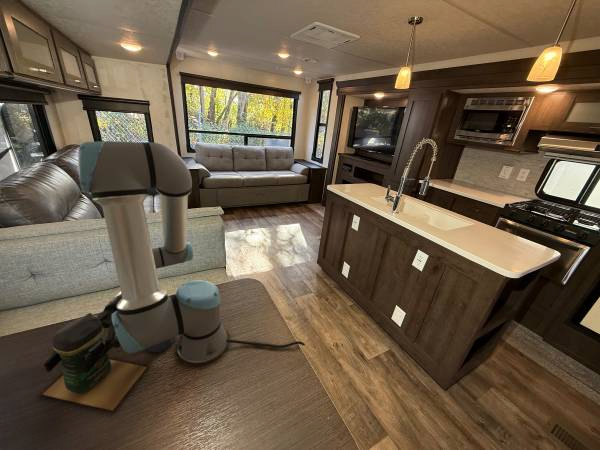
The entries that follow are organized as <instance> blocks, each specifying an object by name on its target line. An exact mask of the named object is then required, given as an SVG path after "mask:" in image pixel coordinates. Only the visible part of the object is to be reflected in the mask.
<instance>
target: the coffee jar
mask: <svg viewBox="0 0 600 450" xmlns="http://www.w3.org/2000/svg"><path fill="white" fill-rule="evenodd" d="M103 334H104V328H103V326H102V324H101V321H100V320H99V319H98V318H96V317H94V316H90V315H87V314H85V315H84V316H81V317H79V318H76V319H75V320H74V321H71V322H70V323H68V324H67V325H65V326H64V327H62V328H61V329H58V330H57V331H56V332H55V333H54V334H53V335H52V337H51V341H52V348H53V351H56V352H57V353H58V354H59V355H60V357H61V361H60V362H61V367H62V376H63V375H64V383H65V387H66V388H67V389H68V390H69V391H72V392H75V393H82V392H85V391H88V390H89V389H91V388H92V387H93V386H95V385H96V384H97V383H98V382H99V381H100V380H102V379H103V378H104V377H105V376H106V375H107V373H108V372H109V371H110V370H111V367H112V365H111V361H110V360H111V359H110V356H109V354H108V352H107V353H106V355H105V356H104V357H103V358H102V359H99V360H98V361H97V362H96V363H95V365H94V366H93V367H92V368H91V370H90V371H89V372H88V373H85V372H84V370H83V367H82V365H83V363H84V362H85V361H86V360H87V359H88V358H89V356H90V355H91V354H92V353H93V352H94V351H95V349H96V348H97V347H98V346H99V345H100V344H101V343H104V339H103Z"/></svg>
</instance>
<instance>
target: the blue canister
mask: <svg viewBox="0 0 600 450" xmlns="http://www.w3.org/2000/svg"><path fill="white" fill-rule="evenodd" d="M173 341H174V338H171V339H169V340H166V341H164V342H161V343H159V344H156V345H154V346H151V347H149V348H148V349H147V350H148V351H150V352H152V353H159V352H162V351H165V350H166V349H168V348H169V347H170V346H171V345H172V344H173Z"/></svg>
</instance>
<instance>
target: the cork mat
mask: <svg viewBox="0 0 600 450" xmlns="http://www.w3.org/2000/svg"><path fill="white" fill-rule="evenodd" d="M110 361H111V365H112V367H111V370H110V371H109V372H108V373H107V375H106V376H105V377H104V378H103V379H102V380H100V381H99V382H98V383H97V384H96V385H95V386H93V387H92V388H91V389H89V390H88V391H85V392H82V393H75V392H72V391H69V390H68V389H67V388H66V387H65V383H64V375H63V374H62V376H60V377H59V378H58V379H57V380H56V381H55V382H54V383H53V384H52V385H51V386H50V387H49V388H47V389H46V390H45V391H44V392H43V393H42V396H45V397H49V398H53V399H58V400H62V401H65V402H71V403H75V404H80V405H84V406H88V407H93V408H98V409H102V410H106V411H111V412H113V411H115V409H116V408H117V407H118V406H119V404H120V403H121V402H122V400H123V399H124V398H125V397H126V395H127V394H128V393H129V391H130V390H131V389H132V388H133V386H134V385H135V384H136V383H137V382H138V380H139V379H140V377H141V376H142V375H143V374H144V372H145V371H146V370H147V368H148V367H147V366H143V365H139V364H133V363H128V362H125V361H119V360H114V359H110Z"/></svg>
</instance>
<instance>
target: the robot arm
mask: <svg viewBox="0 0 600 450" xmlns="http://www.w3.org/2000/svg"><path fill="white" fill-rule="evenodd" d="M77 154H78V155H77V160H78V161H77V162H78V163H77V164H78V165H77V166H78V176H79V177H78V179H79V183H80V189H81V191H82V192H83V193H85V194H90V195H91V200H92V201H93V202H95V203H96V204H98V205H100V206H101V208H102V212H103V217H104V222H105V225H106V231H107V236H108V239H109V245H110V249H111V253H112V257H113V262H114V266H115V271H116V276H117V280H118V285H119V289H120V291H118V293H117V294H116V295H115V296H114V297H113V298H112V299H110V301H109V302H108V303H107V304H106V305H105V306H104V309H103V310H102V311H101V312H99V313H98V314H93V313H91V312H89V313H87V314H86V315H90V316H94V317H96V318H98V319H99V320H100V321H101V324H102V326H103V329H107V334H106V338H105V340H104V342H103V343H101V344H100V345H99V346H98V347H97V348H96V349H95V351H94V352H93V353H92V354H91V355H90V356H89V358H88V359H87V360H86V361H85V362H84V363H83V365H82V367H83V370H84V372H85V373H88V372H89V371H90V370H91V368H92V367H93V366H94V365H95V363H96V362H97V361H98V360H99V359H102V358H103V357H104V356H105V355H106V353H107V354H108V352H109V351H110V350H112V349H113V348H115V349H119V348H120V347H121V348H122V350H123V351H124V352H126V354H134V353H137V352H140V351H143V350H148V348H149V347H151V346H154V345H156V344H159V343H161V342H164V341H166V340H169V339H171V338H173V339H174V338H176V337H179V339H178V342H177V353H178V357H179V359H180V360H181V361H182V362H183V363H184V364H186V365H190V366H203V365H206V364H209V363H211V362H213V361H215V360H216V359H218V358H219V357H220V356H221V355H222V354H223V353H224V352H225V350H226V349H227V346H228V343H233V344H240V345H241V344H242V345H250V346H259V347H269V348H276V349H284V348H289V347H292V346H295V345H301V346H305V345H306V344H305V343H304V342H302V341H300V340H299V341H296V340H295V341H292V342H290V343H285V344H274V343H273V344H272V343H263V342H255V341H254V342H253V341H246V340H237V339H230V338H229V339H228V333H227V330H226V329H225V327H224V326H223V323H222V320H221V319H222V317H221V297H220V290H219V288H218V287H217V286H216V285H215V284H214V283H213V282H211V281H206V280H202V279H194V280H189V281H185V282H184V283H182V284H181V285H179V287H178V288H177V290H176V292H175V293H174V294H171V295H168V291H167V290H166V289H165V288H161V287H160V282H159V277H158V272H157V269H162V268H165V267H171V266H174V265H175V266H176V265H178V264H184V263H186V262H190V261H192V260H193V258H194V249H193V245H192V244H191V242H189V241H188V215H189V214H188V210H189V195H190V194H191V193H192V190H193V180H192V175H191V171H190V169H189V167H188V166H187V164H186V162H185V161H184V160H183V158H182V157H181V156H180V155H179V154H178V152H177V153H176V151H174V150H173V149H171V148H170V147H168V146H166V145H164V144H162V143H159V142H153V141H152V142H150V141H148V142H140V141H139V142H137V141H114V140H102V141H101V140H100V141H86V142H82V143H81V144H80V145H79V148H78V153H77ZM148 189H155V190H156V192H157V193H158V194H159V197H160V211H161V212H160V213H161V224H162V225H161V227H162V239H163V240H162V241H163V246H158V247H154V248H153V247H152V241H151V235H150V230H149V225H148V221H147V215H146V211H145V204H144V202H145V200H146V199H147V198H148V197H149V191H148ZM60 362H61V357H60V355H59V354H58V353H57V352H56V351H55V350H53V352H52V355H51V356H50V357H49V358H48V359H46V361H45V362H44V363H42V364H43V367H44V369H45V371H46V372H47V373H49V372H51V371H53V369H54V368H56V366H57V365H58V364H59V363H60Z"/></svg>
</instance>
